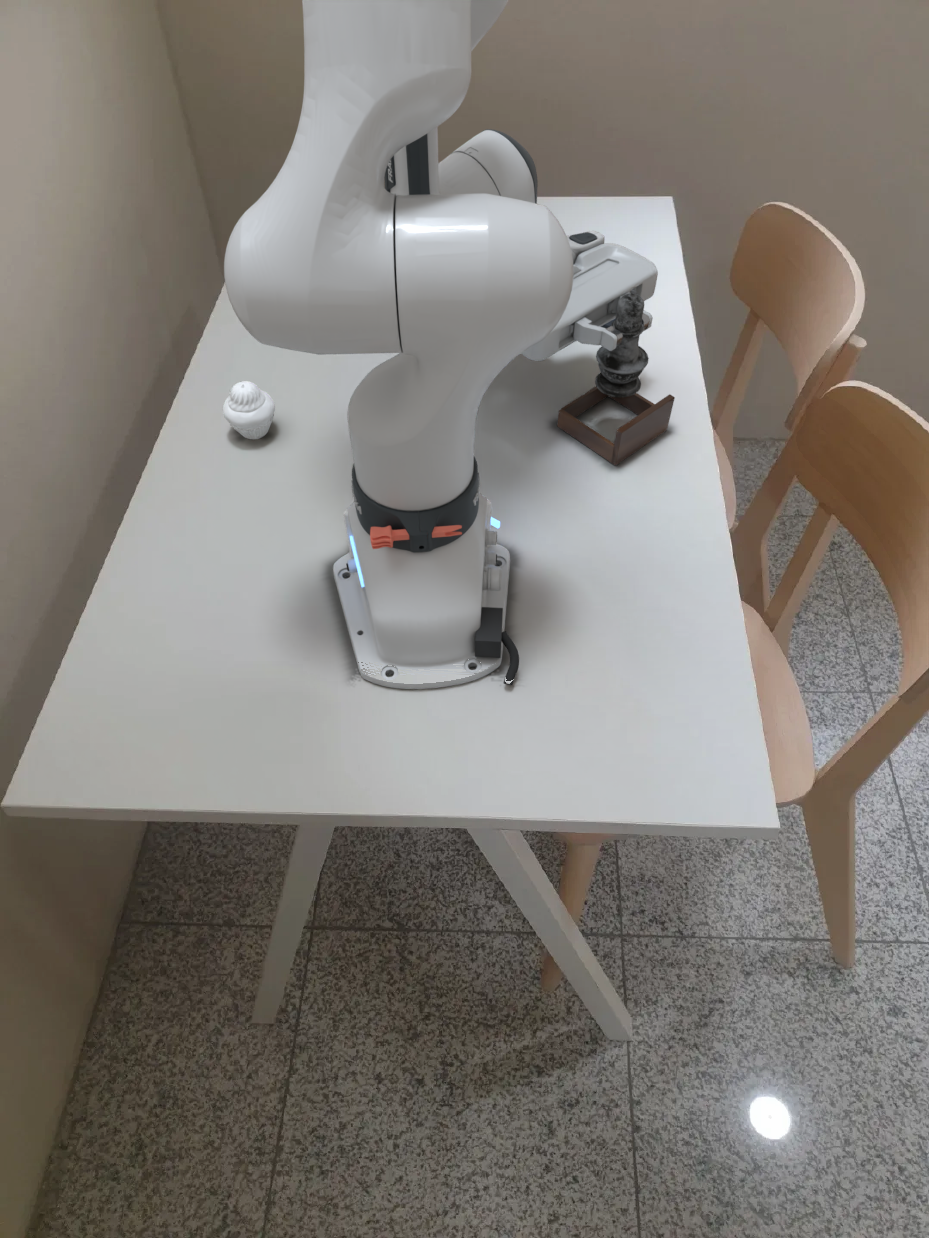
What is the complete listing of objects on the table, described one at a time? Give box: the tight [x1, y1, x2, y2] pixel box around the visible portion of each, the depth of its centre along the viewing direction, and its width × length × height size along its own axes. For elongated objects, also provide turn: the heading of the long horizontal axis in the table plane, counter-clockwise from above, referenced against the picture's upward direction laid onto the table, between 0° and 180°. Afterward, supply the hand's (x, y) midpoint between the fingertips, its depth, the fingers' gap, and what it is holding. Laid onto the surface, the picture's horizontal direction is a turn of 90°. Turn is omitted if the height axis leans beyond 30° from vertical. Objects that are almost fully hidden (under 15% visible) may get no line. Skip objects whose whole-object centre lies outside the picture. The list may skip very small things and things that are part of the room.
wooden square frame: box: [556, 385, 676, 467], centre depth 101 cm, size 10×9×5 cm
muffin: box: [222, 380, 276, 441], centre depth 100 cm, size 6×6×7 cm
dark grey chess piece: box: [594, 288, 650, 398], centre depth 92 cm, size 6×6×12 cm
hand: (633, 333), depth 91 cm, fingers closed on dark grey chess piece, 3 cm apart
